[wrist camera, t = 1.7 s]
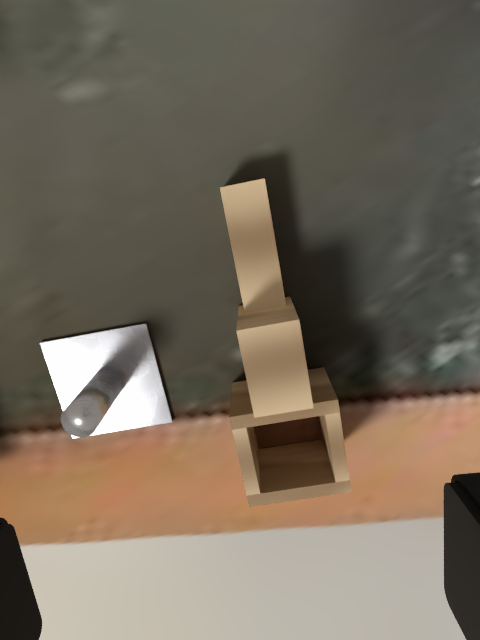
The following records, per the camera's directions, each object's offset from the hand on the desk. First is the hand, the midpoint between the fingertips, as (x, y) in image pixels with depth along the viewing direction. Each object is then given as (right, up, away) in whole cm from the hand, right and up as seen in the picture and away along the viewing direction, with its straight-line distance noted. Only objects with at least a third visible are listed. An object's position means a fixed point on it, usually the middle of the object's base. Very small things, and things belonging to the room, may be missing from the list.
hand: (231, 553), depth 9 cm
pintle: (-8, +1, +19) cm, 21 cm away
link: (+2, +4, +18) cm, 18 cm away
